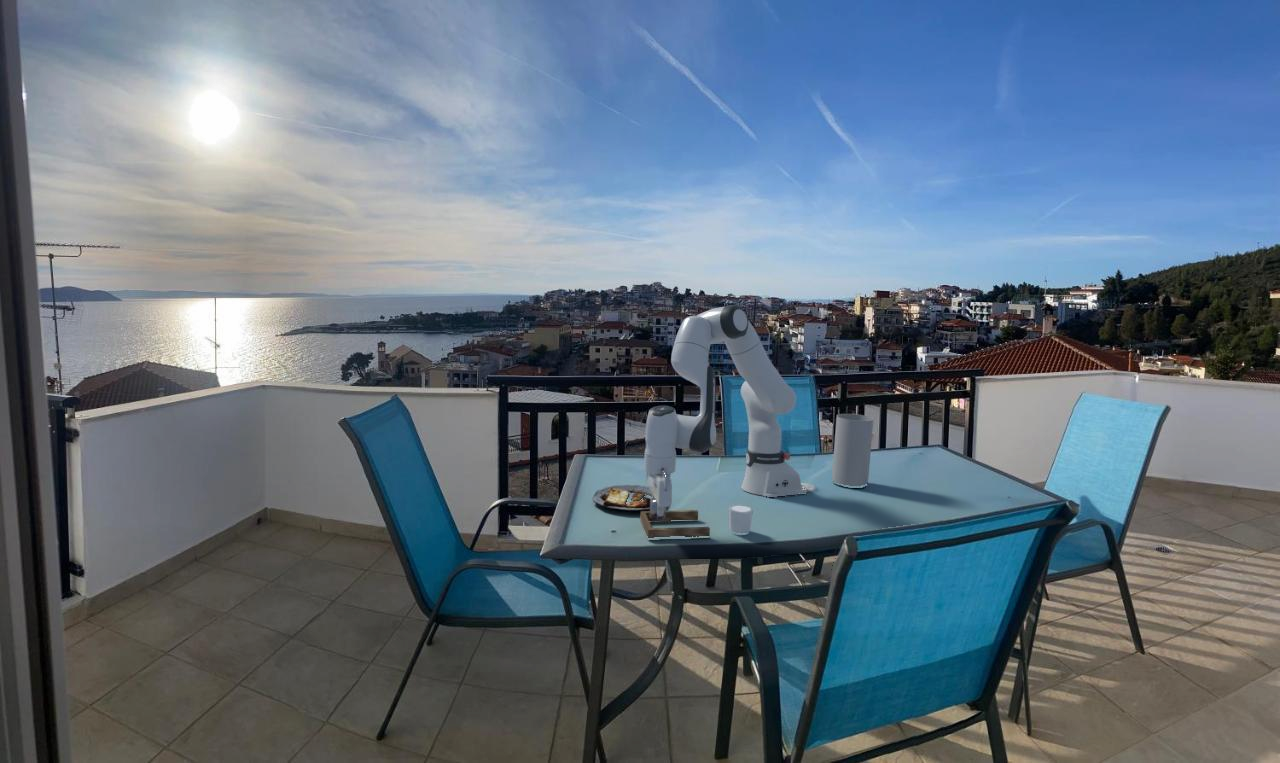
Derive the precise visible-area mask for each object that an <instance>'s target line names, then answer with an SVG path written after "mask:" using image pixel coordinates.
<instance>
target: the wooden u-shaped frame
mask: <svg viewBox="0 0 1280 763" xmlns="http://www.w3.org/2000/svg"><path fill="white" fill-rule="evenodd" d="M639 515H640V516H639V517H640V519H639V520H640V521H641V522H640V521H639V522H640V523H642V524H641V526H642V525H643V527H642V529H643V528H644V529H643V531H644V530H645V532H646V534H647V536H648V538H654V537H670V536H685V537H692V536H693V537H696V536H697V537H699V536H710V535H711V534H710V533H711V532H710V531H711V528H710V526H692V527H691V526H688V527H685V526H684V527H681V526H680V527H652V525H651V522H649V521H671V520H698V521H699V510H698V509H687V510H685V509H679V510H677V509H676V510H666V518H665V519H663V520H654V519H651V518H650V510H640V514H639ZM645 532H644V533H645ZM646 534H645V535H646Z"/></svg>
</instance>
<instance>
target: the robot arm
mask: <svg viewBox="0 0 1280 763" xmlns="http://www.w3.org/2000/svg"><path fill="white" fill-rule="evenodd" d="M748 317H749V316H748V315H747V312H746V311H745V310H744V309H743V308H742V307H741V306H739V305H734V304H731V305H729V304H728V305H726V306H720V307H714V308H710V309H709V310H707V311H703V312H702V313H697V314H694V315H691V316H687V317H685V318H684V319H683V320H682V322H681V324H680V326H679V329H678V331H677V334H676V336H675V339H674V343H673V346H672V350H671V355H670V356H671V358H670V363H671V366H672V368H673V370H674V371H675V373H677V374H678V375H679V376H680V377H681V378H683V379H685V380H686V381H689V382H690V383H692V384H693V385H696V386H697V387H699V388H700V389H699V390H700V402H699V403H700V404H699V405H700V406H699V414H698V415H697V416H691V415H685V414H684V415H683V414H678V413H677V412H676V409H675V408H674V407H673V406H669V405H657V406H653V407H651V408H650V409H649V410H648V414H647V418H646V424H645V435H644V436H645V439H644V440H645V443H646V445H645V449H644V459H643V460H644V461H643V462H644V463H643V467H644V468H643V469H644V471H645V472H646V483H647V487H649V488H650V490H651V492H652V497H653V498H655V500H656V502H657V512H656V513H657V515H658V516H663V515H664V508H665V507H666V508H670V507H671V506H672V504H673V503H672V502H673V499H672V498H673V493H672V492H673V487H672V485H673V482H672V479H671V476H672V475H671V474H673V473H675V472H676V466H677V462H676V461H677V451H676V448H677V449H681V450H682V449H683V450H690V451H693V452H696V453H700V454H703V453H705V452H707V451H709V450H710V449H712V448H713V447H714V446H715V445H716V440H717V428H716V427H717V424H716V422H717V421H716V406H717V404H716V403H717V402H716V401H717V400H716V399H717V379H716V377H717V376H716V372H715V369H714V368H713V367H712V365H710V362H709V354H710V350H711V349H710V348H711V345H715V344H721V343H723V342H724V343H725V346H726V349H727V351H728V353H729V356H730V358H731V360H732V361H733V363H734V366H735V368H736V370H737V373H738V374H739V375H740V376H741V377H742V378H743V379H744V382H743V383H742V385H741V387H740V395H741V398H742V400H743V402H744V406H745V409H746V410H745V411H746V415H747V416H746V417H747V421H748V444H747V445H748V446H747V448H746V454H745V465H746V467H745V474H744V478H743V481H742V484H741V489H742V490H743V491H745V492H748V493H749V494H750V493H751V494H753V495H759V496H763V497H766V496H767V497H766V498H769V497H774V498H778V497H777V496H785V495H792V494H799V493H800V494H801V493H806V492H807V493H808V489H807V488H806V487H805V488H806V490H802V489H803V488H802V486H804V484H802V482H801V476H800V473H799V472H798V471H797V470H796V469H795V468H794V467H792V466H791V465H790V464H789V463H787V462H786V461H789V460H790V459H791V455H790V454H789V453H786V452H784V451H783V450H781V448H782V433H783V432H782V427H781V424H780V423H779V421H778V418H777V415H787V414H789V413H791V412H792V411H793V410H794V408H795V406H796V405H797V404H796V403H797V394H796V392H795V391H794V390H793V388H792V387H790V385H788V383H787V382H786V381H785V380H784V379H783V377H782V375H781V374H780V372H779V371H778V370H777V368H776V367H775V366H774V364H773V363H772V361H771V360H770V358H769V356H768V354H767V352H766V350H765V347H764V345H763V343H762V341H761V339H760V337H759V335H758V332H756V329H755V328H754V326H753V325H752V323H751V322H750V321H749V318H748ZM805 488H804V489H805ZM785 497H786V496H785Z"/></svg>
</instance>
